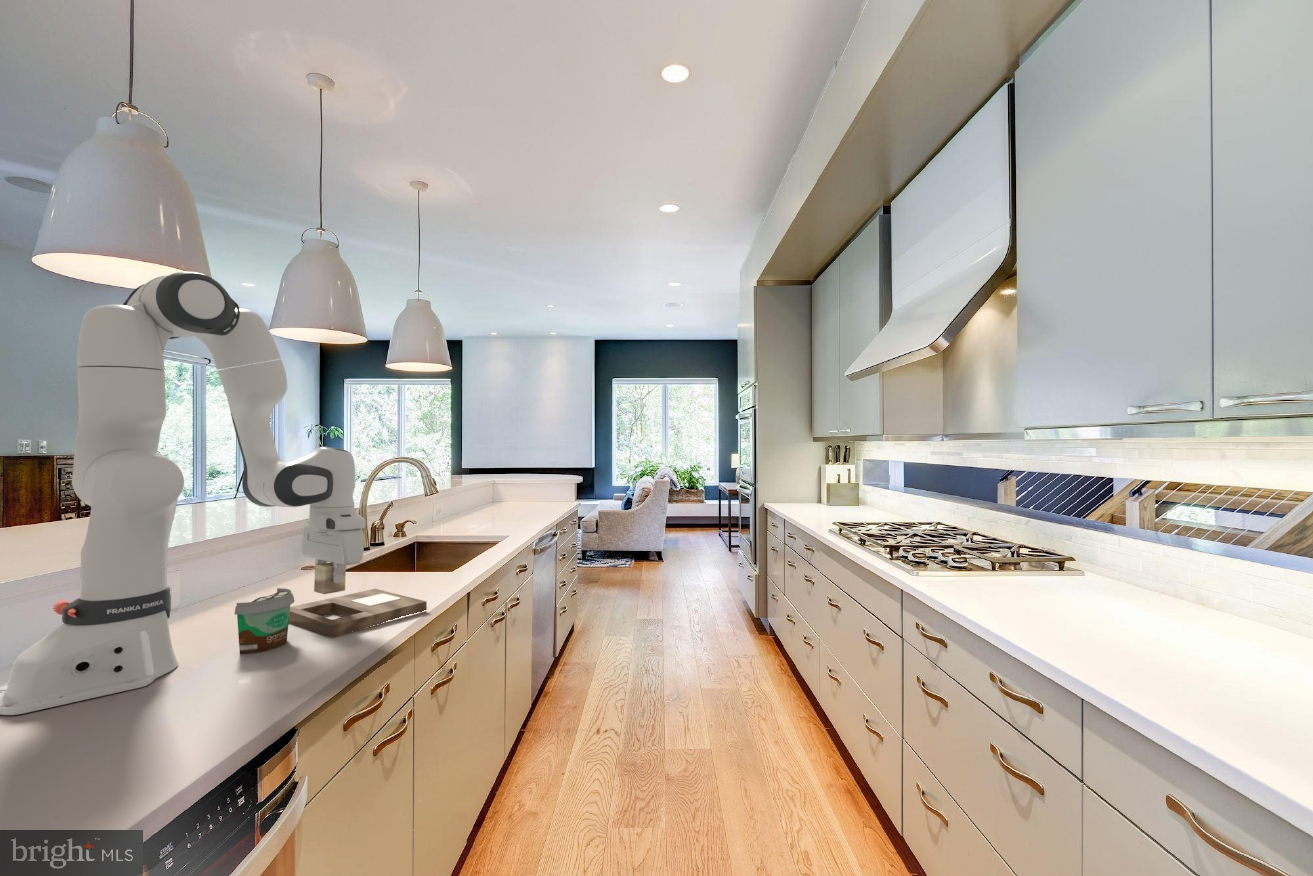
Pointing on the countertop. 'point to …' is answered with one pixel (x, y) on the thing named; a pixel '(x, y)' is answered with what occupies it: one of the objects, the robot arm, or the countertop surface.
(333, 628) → the pocket board
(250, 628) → the food container
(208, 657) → the countertop surface
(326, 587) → the ash block
